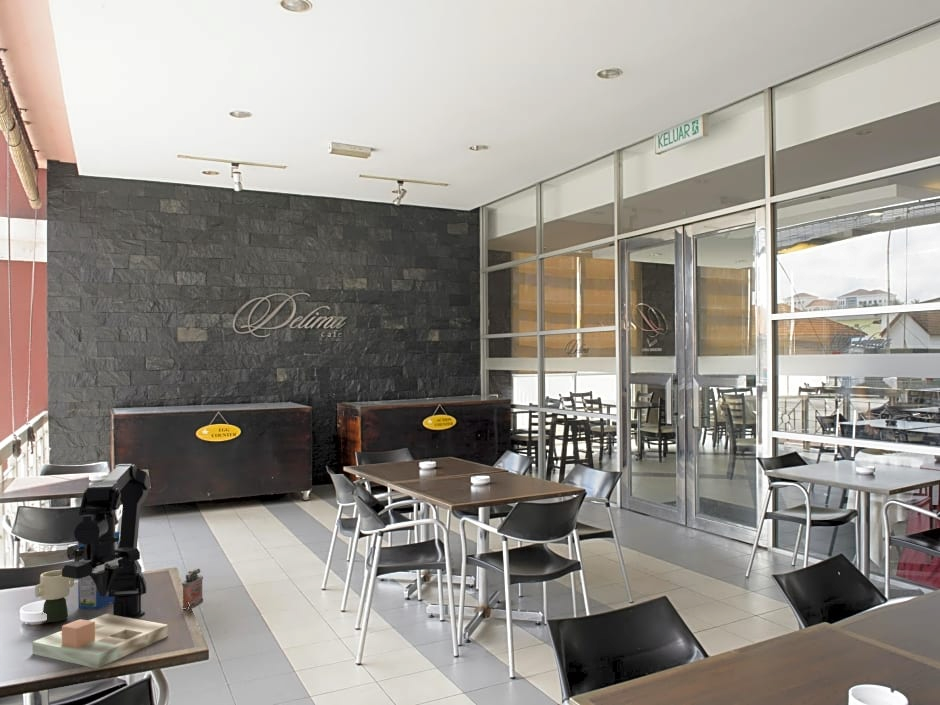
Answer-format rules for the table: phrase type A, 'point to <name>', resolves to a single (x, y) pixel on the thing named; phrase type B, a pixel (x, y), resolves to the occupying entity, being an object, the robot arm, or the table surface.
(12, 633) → the table surface
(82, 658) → the cream flat piece
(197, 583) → the lighter
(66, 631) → the block
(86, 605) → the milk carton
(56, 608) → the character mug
